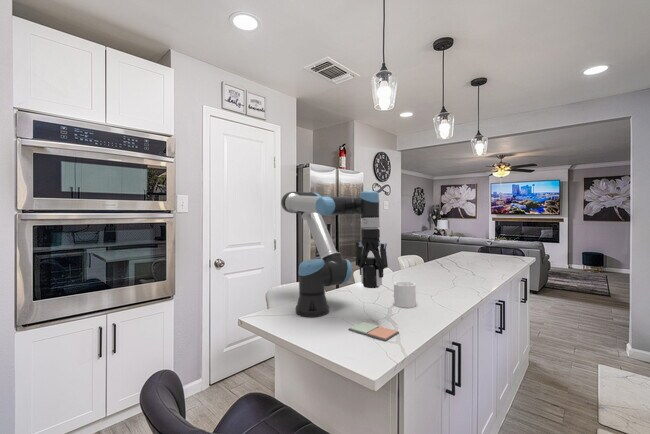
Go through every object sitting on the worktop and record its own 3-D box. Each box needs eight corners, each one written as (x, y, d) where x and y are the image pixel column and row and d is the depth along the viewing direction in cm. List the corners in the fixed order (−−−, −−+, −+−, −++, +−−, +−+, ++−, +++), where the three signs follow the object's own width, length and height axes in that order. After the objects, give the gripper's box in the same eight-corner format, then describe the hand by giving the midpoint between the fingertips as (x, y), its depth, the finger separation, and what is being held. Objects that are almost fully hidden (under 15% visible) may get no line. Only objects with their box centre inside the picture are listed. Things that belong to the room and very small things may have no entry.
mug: (411, 309, 133) (410, 287, 134) (390, 306, 140) (390, 284, 140) (420, 303, 143) (420, 282, 144) (401, 300, 150) (400, 279, 150)
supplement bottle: (379, 288, 116) (379, 258, 116) (362, 288, 118) (362, 258, 118) (380, 285, 123) (379, 256, 123) (363, 284, 124) (363, 256, 125)
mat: (348, 330, 110) (348, 328, 110) (363, 323, 117) (362, 321, 117) (385, 341, 99) (385, 339, 99) (399, 333, 106) (399, 330, 106)
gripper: (346, 228, 125) (347, 282, 124) (386, 229, 111) (387, 289, 111) (356, 228, 130) (357, 279, 130) (396, 228, 117) (397, 285, 116)
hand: (371, 284), depth 120 cm, fingers closed on supplement bottle, 7 cm apart
